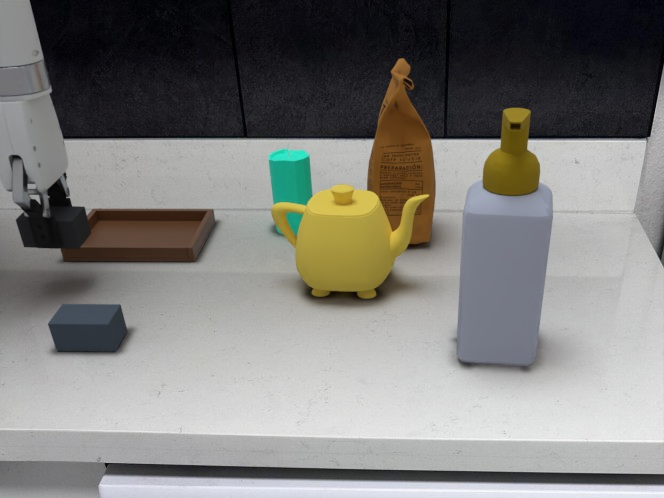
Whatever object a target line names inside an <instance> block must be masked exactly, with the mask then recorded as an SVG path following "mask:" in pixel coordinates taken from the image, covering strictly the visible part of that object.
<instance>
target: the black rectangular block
mask: <svg viewBox="0 0 664 498" xmlns="http://www.w3.org/2000/svg"><path fill="white" fill-rule="evenodd" d="M49 208H50V215H54V216H55V220H56V223H57V227H58V231H59V234H60V238H61V242H62V247H61V248H65V249H79V248H80V247H81V246H82V244H83V243H84V242H85V241H86V239H87V238H88V237H89V236H90V234H91V231H90V227H89V222H88V218H87V215H88V214H87V211H86V206H77V205H76V206H75V205H72V206H49ZM15 223H16V226H17V230H18V232H19V236H20V239H21V242H22V245H23V248H33V249H34V248H35V249H38V248H37V247H36V245H35V242H34V239H33V236H32V232H31V229H30V225H29V222H28V219H27V217H25V215H24V211H23V212H22V213H21V214H19V216H17V218H16V219H15Z"/></svg>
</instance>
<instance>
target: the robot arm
mask: <svg viewBox="0 0 664 498" xmlns="http://www.w3.org/2000/svg"><path fill="white" fill-rule="evenodd" d="M52 92H53V89H52V85H51V81H50V77H49V72H48V69H47V65H46V61H45V57H44V53H43V50H42V46H41V42H40V38H39V33H38V30H37V25H36V21H35V17H34V13H33V9H32V5H31V1H30V0H0V181H1V184H2V187H3V188H4V190H5V191H6V192H9V193H11V194H12V195H11V196H12V201H13V203H14V204H15V205H17V206H18V207H19V208H20V209H21V210H22V211H23V212H24V215H25V217H27V219H28V222H29V225H30V229H31V232H32V236H33V239H34V242H35V245H36V247H37V248H36V249H53V250H55V249H56V250H59V249H60V248H61V247H62V242H61V238H60V234H59V231H58V227H57V223H56V220H55V216H54V215H50V208H49V206H73V203H72V200H71V198H70V196H71V190H70V188H69V185H68V182H67V178H68V176H67V170H68V168H69V159H68V152H67V148H66V145H65V144H66V143H65V140H64V136H63V133H62V129H61V126H60V123H59V118H58V116H57V112H56V109H55V106H54V104H53V100H52V98H51V95H50V94H52ZM28 185H34V186H35V188H29V186H28ZM31 196H38V197H39V202H38V201H37V199H36V198H32V197H31ZM60 250H61V249H60Z"/></svg>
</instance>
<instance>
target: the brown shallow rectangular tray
mask: <svg viewBox="0 0 664 498" xmlns="http://www.w3.org/2000/svg"><path fill="white" fill-rule="evenodd" d="M87 218H88V222H89V227H90V231H91V234H90V236H89V237H88V238H87V239H86V241H85V242H84V243H83V244H82V246H81V247H80V248H79V249H65V248H60V253H61V255H62V258H63V261H64V262H182V263H183V262H185V263H186V262H193V263H194V262H196V260H197V258H198V257H199V255H200V253H201V251H202V249H203V247H204V245H205V243H206V241H207V240H208V237H209V236H210V233H211V232H212V230H213V227H214V226H215V224H216V217H215V210H214V209H213V208H92V209H91V210H90V211H89V212H88V214H87Z"/></svg>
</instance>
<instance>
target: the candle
mask: <svg viewBox="0 0 664 498" xmlns="http://www.w3.org/2000/svg"><path fill="white" fill-rule="evenodd" d="M286 144H287V148H280V149H277V150H273V152H270V153H269V154H268V166H269V167H268V168H269V176H270V185H271V192H272V193H271V194H272V201H273V205H274V204H276V203H279V202H288V203H295V204H300V205H305V206H307V204H308V202H309V200H310V199H311V198H312V197H313V196H314V195H313V183H312V172H311V170H312V169H311V159H310V157H311V156H310V154H309V153H308V152H306V150H305V149H297V150H294V149H290V146H289V143H288V142H287V143H286ZM302 217H303V214H300V213H293V212H289V213H286V218H287V221H288V223H289V225H290V227H291V229H292V231H293V232H294V234H295V235H296V237H297V234H298V230H299V226H300V223H301V220H302ZM275 230H276V232H277V233H278V234H281V235H283V234H282V233H281V231H280V230H279V229H278V227H277V226H276V225H275Z"/></svg>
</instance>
